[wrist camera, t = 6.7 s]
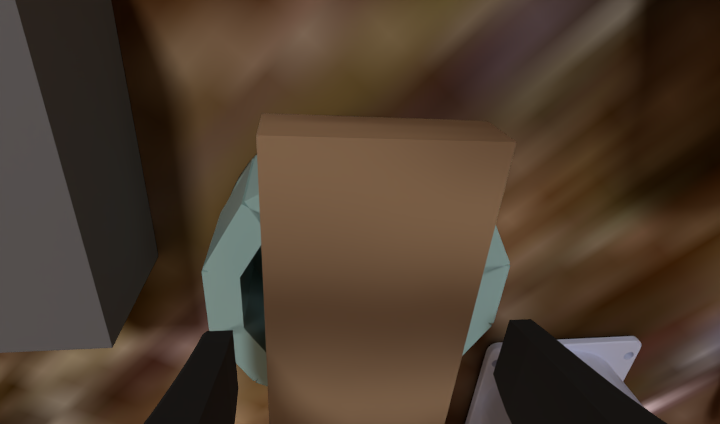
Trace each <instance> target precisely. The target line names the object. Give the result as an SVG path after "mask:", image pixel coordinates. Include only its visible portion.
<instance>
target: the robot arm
mask: <svg viewBox="0 0 720 424" xmlns="http://www.w3.org/2000/svg"><path fill="white" fill-rule="evenodd" d="M640 348H641V342H640V341H639V340H638V339H637V338H636V337H634V336H621V337H600V338H580V339H559V340H557V339H555V338H554V337H553V336H552V335H550V334H549V333H548V332H547V331H545V330H544V329H543V328H542V327H540V326H539V325H538V324H536V323H535V322H534V321H532V320H531V319H528V320H510V321H509V324H508V327H507V330H506V334H505V337H504V340H503V342H498V343H494V344H492V345H490V346H489V347H488V349H487V350H486V354H485V357H484V361H483V364H482V367H481V371H480V374H479V378H478V381H477V385H476V388H475V391H474V395H473V398H472V402H471V405H470V409H469V412H468V415H467V419H466V422H465V424H667V423H665V422H664V421H662V420H661V419H659V418H658V417H656V416H655V415H653V414H652V413H651V412H649V411H648V410H647V409H645V408H644V407H643V406H642V404H641V403H640V402H639V401H638V399H637V398H636V397H635V396H634V395H633V393H632V392H631V391H630V390H629V388H628V387H627V386H626V385H625V383H624V382H623V380H624V379H625V377H626V375H627V373H628V371H629V369H630V367H631V365H632V363H633V361H634V360H635V358H636V356H637V354H638V352H639V350H640ZM237 395H238V381H237V370H236V360H235V349H234V338H233V330H226V331H207V332H205V333H204V334H203V335H202V337H201V339H200V340H199V342H198V344H197V346H196V347H195V349H194V351H193V352H192V354H191V356H190V357H189V359H188V360H187V362H186V364H185V365H184V367H183V368H182V370H181V371H180V373H179V374H178V376H177V378H176V379H175V381H174V382H173V383H172V385H171V386H170V388H169V389H168V391H167V392H166V394H165V395H164V396H163V398H162V399H161V401H160V402H159V404H158V405H157V406H156V408H155V409H154V411H153V412H152V413H151V415H150V416H149V417H148V419H147V420H146V421H145V422H144V424H234V423H235V414H236V405H237Z"/></svg>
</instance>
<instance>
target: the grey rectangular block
mask: <svg viewBox="0 0 720 424" xmlns="http://www.w3.org/2000/svg"><path fill="white" fill-rule="evenodd" d="M157 258H158V252H157V246H156V241H155V235H154V230H153V224H152V219H151V214H150V208H149V203H148V197H147V192H146V186H145V181H144V176H143V170H142V165H141V159H140V154H139V148H138V143H137V138H136V132H135V127H134V121H133V116H132V110H131V105H130V100H129V94H128V89H127V83H126V78H125V72H124V67H123V62H122V56H121V51H120V45H119V40H118V34H117V29H116V24H115V18H114V13H113V7H112V2H111V0H0V353H1V352H24V351H47V350H70V349H93V348H112V347H113V345H114V343H115V341H116V339H117V337H118V335H119V333H120V331H121V329H122V327H123V325H124V323H125V321H126V319H127V317H128V315H129V313H130V311H131V310H132V308H133V306H134V304H135V302H136V300H137V298H138V296H139V294H140V292H141V290H142V288H143V286H144V284H145V282H146V280H147V278H148V276H149V274H150V272H151V270H152V268H153V266H154V264H155V262H156V260H157Z"/></svg>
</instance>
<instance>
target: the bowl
mask: <svg viewBox="0 0 720 424" xmlns="http://www.w3.org/2000/svg"><path fill="white" fill-rule="evenodd" d="M357 117H359V116H357ZM509 263H510V262H509V259H508V257H507V254H506V251H505V249H504V246H503V243H502V241H501V238H500V235H499V233H498V230H497V227H496V225H495V229H494V233H493V237H492V241H491V245H490V249H489V253H488V256H487V260H486V264H485V268H484V272H483V276H482V280H481V284H480V288H479V292H478V296H477V299H476V303H475V307H474V311H473V315H472V319H471V323H470V327H469V331H468V335H467V338H466V342H465V346H464V350H463V354H462V356H463V355H464V354H465V353H466V351H467V350H468V349H469V348H470V347H471V346H472V345H473V344H474V343H475V342H476V341H477V340H478V339H479V338H480V337H481V336H482V335H483V334H484V333H485V332H486V331H487V330H488V329H489V328H490V327H491V326H492V325H491V323H494V320H495V316H496V313H497V309H498V306H499V302H500V299H501V295H502V292H503V289H504V285H505V282H506V278H507V275H508V271H509V268H510V265H509ZM202 279H203V286H204V294H205V302H206V310H207V317H208V325H209V331H226V330H233V338H234V349H235V360H236V363H237V364H238V366H239V367H240V368H241V369H242V370H243V371H244V372H245V373H246V374H247V375H248V376H249V377H250V378H251V379H252V380H253V381H254V380H256V383H259V384H262V385H266V386H268V381H267V360H266V338H265V316H264V294H263V273H262V251H261V229H260V207H259V186H258V164H257V154H256V155H255V157H254V158H253V159H252V160H251V161H250V162H249V163H248V164H247V166H246V167H245V169H244V170H243V172H242V173H241V175H240V176H239V178H238V180H237V182H236V184H235V186H234V188H233V190H232V193H231V196H230V198H229V200H228V201H227V203H226V205H225V206H224V208H223V210H222V211H221V213H220V216H219V220H218V223H217V226H216V229H215V232H214V235H213V238H212V241H211V244H210V247H209V250H208V253H207V256H206V259H205V262H204V265H203V270H202Z"/></svg>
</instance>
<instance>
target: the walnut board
mask: <svg viewBox="0 0 720 424" xmlns="http://www.w3.org/2000/svg"><path fill="white" fill-rule="evenodd" d="M256 142H257V164H258V186H259V207H260V229H261V251H262V273H263V294H264V316H265V338H266V360H267V381H268V403H269V424H445V420H446V417H447V413H448V409H449V405H450V401H451V397H452V393H453V389H454V385H455V381H456V378H457V374H458V370H459V366H460V362H461V358H462V354H463V350H464V346H465V342H466V338H467V335H468V331H469V327H470V323H471V319H472V315H473V311H474V307H475V303H476V299H477V296H478V292H479V288H480V284H481V280H482V276H483V272H484V268H485V264H486V260H487V256H488V253H489V249H490V245H491V241H492V237H493V233H494V229H495V225H496V221H497V217H498V214H499V210H500V206H501V202H502V198H503V194H504V190H505V186H506V182H507V178H508V174H509V171H510V167H511V163H512V159H513V155H514V151H515V147H516V143H517V142H516V141H514V140H513V139H512V138H510V137H509V136H507V135H506V134H505V133H503V132H502V131H501V130H499V129H498V128H497V127H495V126H494V125H492V124H491V123H490V122H488V121H474V120H445V119H415V118H386V117H357V116H328V115H299V114H270V113H262V115H261V119H260V123H259V126H258V130H257V134H256Z"/></svg>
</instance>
